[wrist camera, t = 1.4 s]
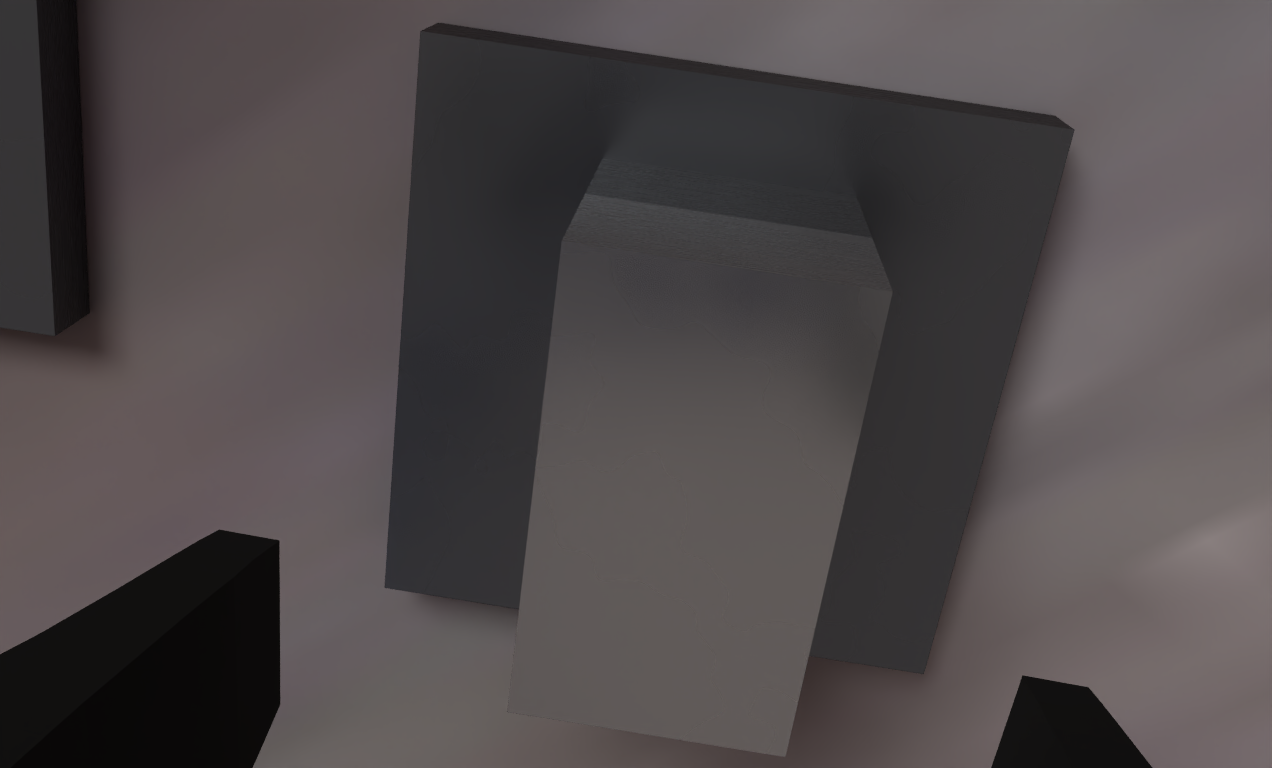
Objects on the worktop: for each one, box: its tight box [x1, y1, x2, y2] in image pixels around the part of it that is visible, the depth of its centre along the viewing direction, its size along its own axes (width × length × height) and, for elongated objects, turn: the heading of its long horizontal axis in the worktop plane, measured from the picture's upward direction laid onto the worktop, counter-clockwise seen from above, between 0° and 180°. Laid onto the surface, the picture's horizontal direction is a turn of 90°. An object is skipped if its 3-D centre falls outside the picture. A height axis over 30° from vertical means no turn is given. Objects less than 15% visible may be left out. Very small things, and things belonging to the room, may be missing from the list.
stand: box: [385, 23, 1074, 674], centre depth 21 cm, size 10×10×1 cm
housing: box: [507, 158, 893, 757], centre depth 18 cm, size 7×4×5 cm, turn 172°
